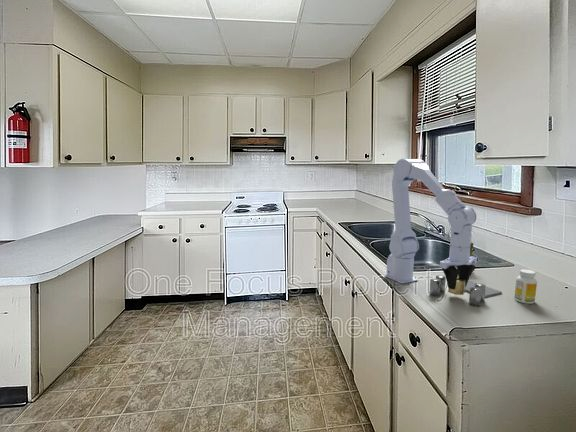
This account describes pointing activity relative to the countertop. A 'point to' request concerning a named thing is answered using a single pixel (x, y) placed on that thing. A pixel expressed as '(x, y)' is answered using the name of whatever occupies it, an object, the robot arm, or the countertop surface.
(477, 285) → the cylinder
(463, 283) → the nut
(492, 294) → the mat
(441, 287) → the cylinder
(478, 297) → the cylinder
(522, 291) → the supplement bottle
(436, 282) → the cylinder
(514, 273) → the countertop surface
